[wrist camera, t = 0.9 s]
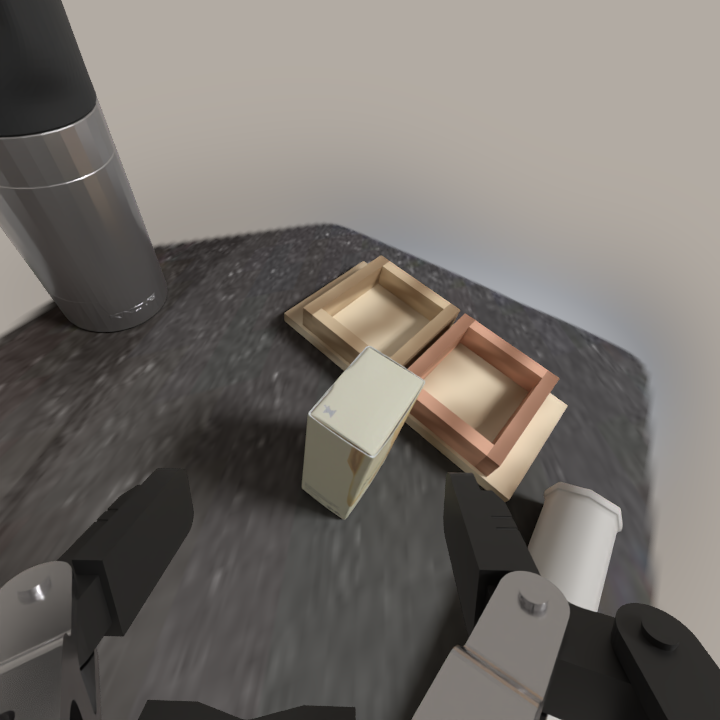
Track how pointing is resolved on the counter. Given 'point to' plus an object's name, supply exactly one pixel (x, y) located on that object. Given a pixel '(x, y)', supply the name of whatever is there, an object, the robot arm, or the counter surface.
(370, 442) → the skincare box
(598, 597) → the tube
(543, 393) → the two-compartment wooden tray
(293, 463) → the counter surface
